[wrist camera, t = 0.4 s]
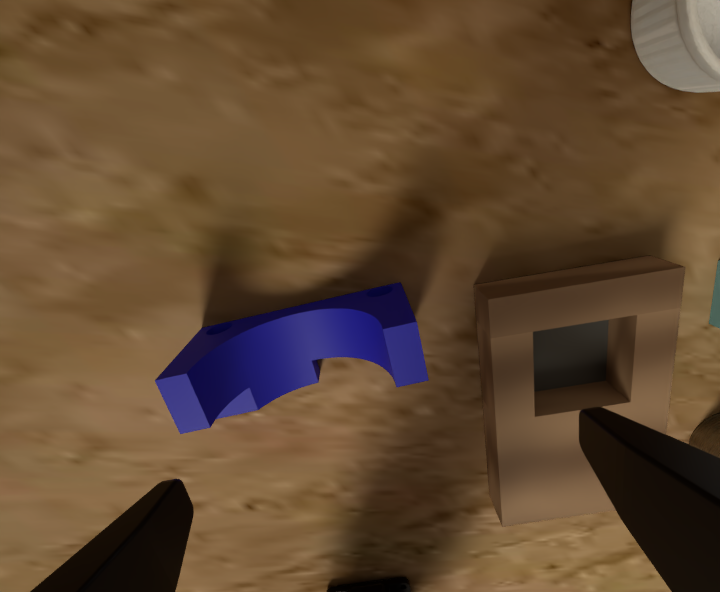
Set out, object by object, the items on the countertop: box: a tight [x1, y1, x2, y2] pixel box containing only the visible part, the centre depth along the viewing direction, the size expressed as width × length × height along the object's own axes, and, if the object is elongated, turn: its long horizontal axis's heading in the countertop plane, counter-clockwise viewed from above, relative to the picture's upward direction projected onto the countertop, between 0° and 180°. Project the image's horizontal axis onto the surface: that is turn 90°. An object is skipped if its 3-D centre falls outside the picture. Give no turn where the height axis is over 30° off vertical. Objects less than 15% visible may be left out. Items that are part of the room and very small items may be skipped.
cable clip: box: [155, 282, 428, 434], centre depth 21 cm, size 12×4×6 cm, turn 103°
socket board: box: [474, 256, 685, 527], centre depth 24 cm, size 16×10×2 cm, turn 10°
